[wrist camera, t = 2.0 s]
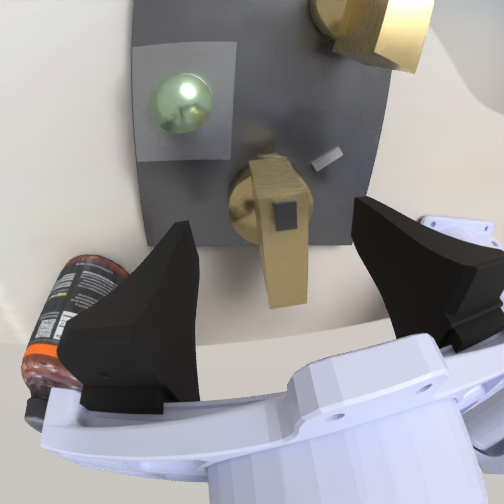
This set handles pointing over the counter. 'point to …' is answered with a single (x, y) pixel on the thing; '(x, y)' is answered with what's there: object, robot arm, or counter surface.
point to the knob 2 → (375, 30)
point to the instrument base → (247, 112)
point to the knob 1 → (275, 225)
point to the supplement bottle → (52, 324)
